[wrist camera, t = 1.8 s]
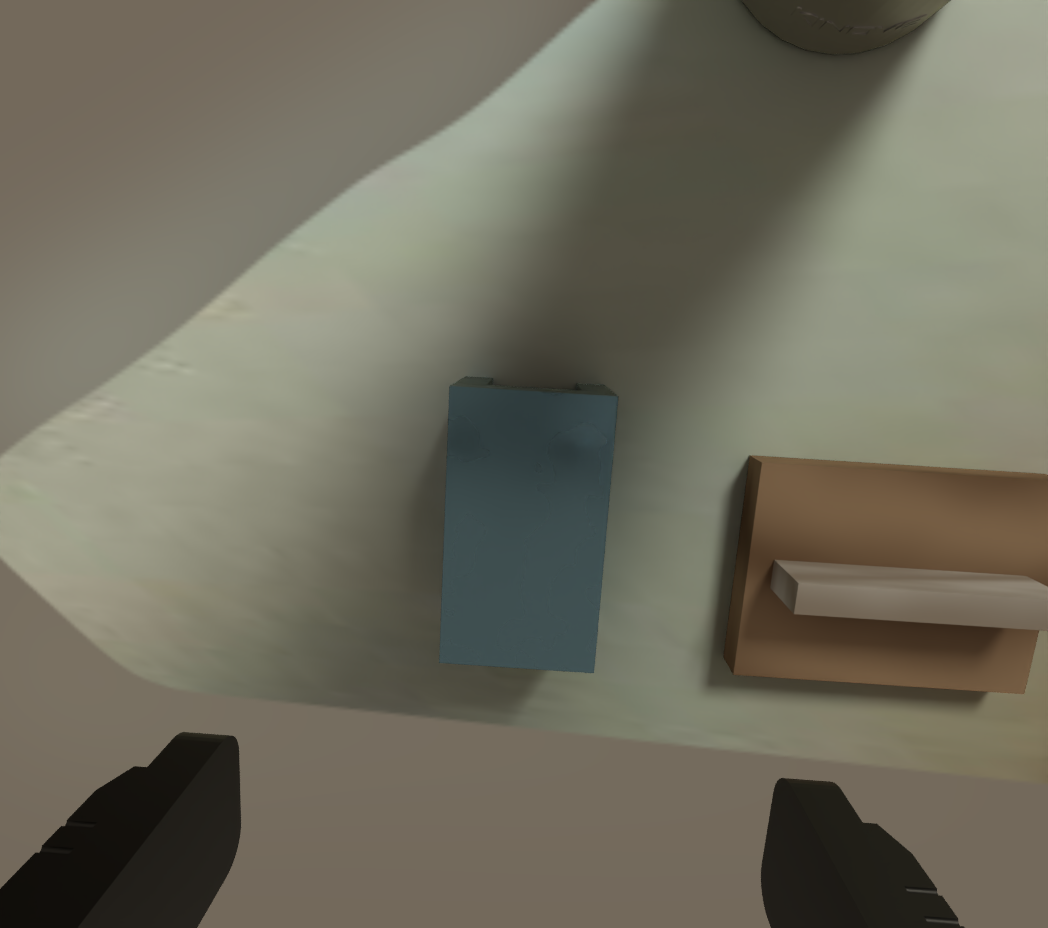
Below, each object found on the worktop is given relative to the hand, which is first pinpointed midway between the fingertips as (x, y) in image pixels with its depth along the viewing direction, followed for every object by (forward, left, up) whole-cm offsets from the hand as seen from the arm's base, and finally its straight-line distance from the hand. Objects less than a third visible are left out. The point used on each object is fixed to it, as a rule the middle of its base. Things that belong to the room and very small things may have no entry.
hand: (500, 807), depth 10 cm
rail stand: (+2, +15, -18) cm, 24 cm away
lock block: (0, 0, -18) cm, 18 cm away
